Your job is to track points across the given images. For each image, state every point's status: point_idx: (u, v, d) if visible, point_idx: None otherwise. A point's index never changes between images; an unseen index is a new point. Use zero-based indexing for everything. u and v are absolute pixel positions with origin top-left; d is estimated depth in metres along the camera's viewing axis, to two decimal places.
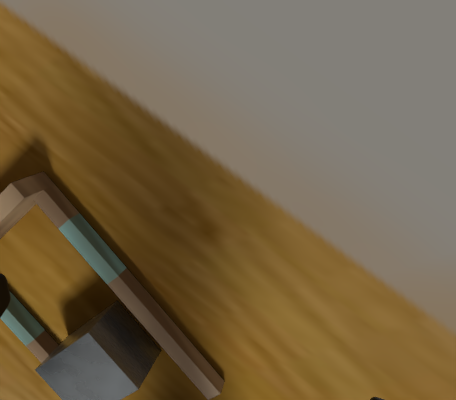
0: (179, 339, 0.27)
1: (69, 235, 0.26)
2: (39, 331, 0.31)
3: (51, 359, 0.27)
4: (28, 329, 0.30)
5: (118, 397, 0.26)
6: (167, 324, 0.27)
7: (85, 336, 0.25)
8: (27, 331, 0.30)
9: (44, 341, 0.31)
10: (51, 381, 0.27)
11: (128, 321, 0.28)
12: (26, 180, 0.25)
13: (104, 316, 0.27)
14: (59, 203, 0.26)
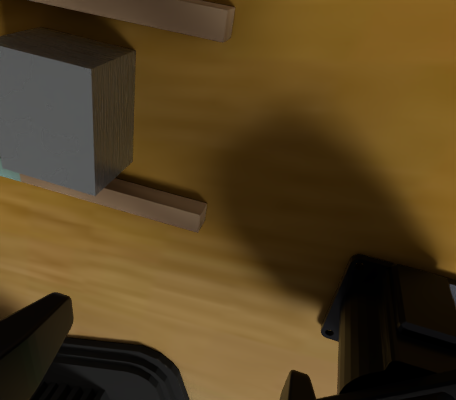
0: None
1: None
2: None
3: None
4: None
5: (88, 113, 0.16)
6: None
7: None
8: None
9: None
10: (25, 167, 0.19)
11: (65, 36, 0.18)
12: None
13: (14, 33, 0.17)
14: None
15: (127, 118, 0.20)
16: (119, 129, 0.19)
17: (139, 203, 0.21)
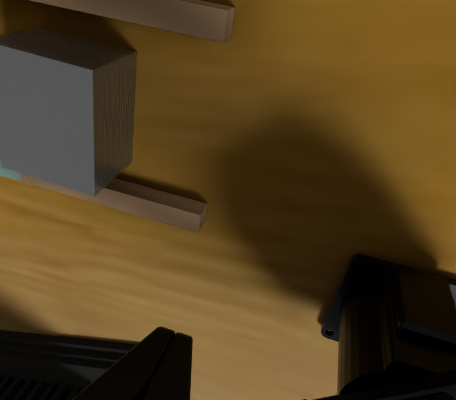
0: None
1: None
2: None
3: None
4: None
5: (89, 114, 0.16)
6: None
7: None
8: None
9: None
10: (25, 166, 0.19)
11: (66, 36, 0.18)
12: None
13: (15, 33, 0.17)
14: None
15: (127, 118, 0.20)
16: (119, 130, 0.19)
17: (139, 203, 0.21)
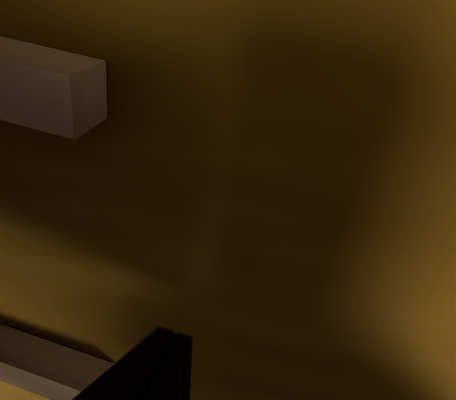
0: None
1: None
2: None
3: None
4: None
5: None
6: None
7: None
8: None
9: None
10: None
11: None
12: None
13: None
14: None
15: None
16: None
17: None
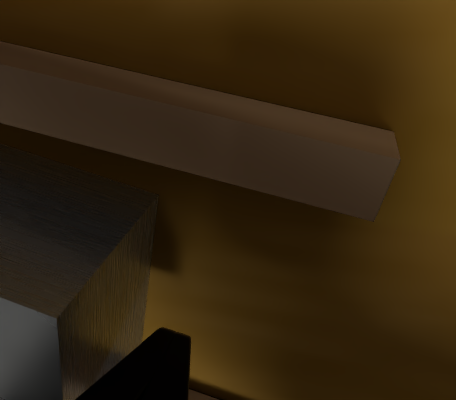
0: (129, 84, 0.07)
1: None
2: None
3: None
4: None
5: (52, 381, 0.07)
6: (65, 68, 0.07)
7: None
8: None
9: None
10: None
11: (15, 163, 0.09)
12: None
13: None
14: None
15: (136, 306, 0.10)
16: (120, 338, 0.10)
17: None
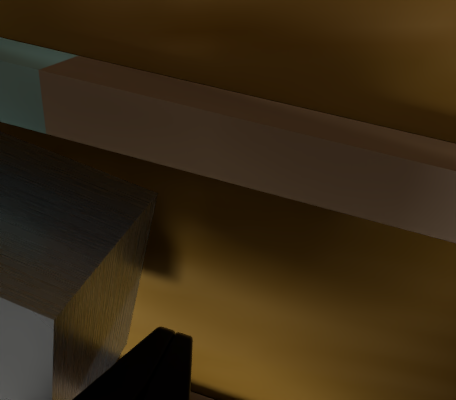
0: (404, 147, 0.06)
1: None
2: None
3: None
4: None
5: (42, 380, 0.07)
6: (320, 125, 0.07)
7: None
8: None
9: None
10: None
11: (12, 151, 0.09)
12: None
13: None
14: None
15: (126, 302, 0.10)
16: (109, 334, 0.10)
17: None
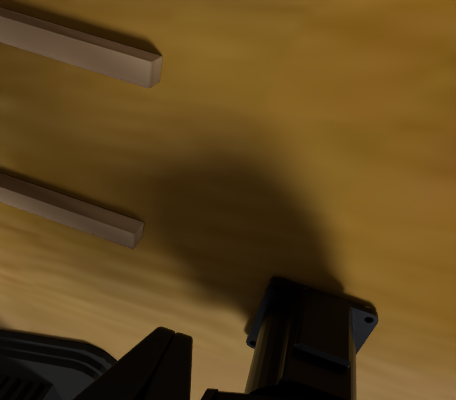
0: (59, 30, 0.18)
1: None
2: None
3: None
4: None
5: None
6: (33, 22, 0.18)
7: None
8: None
9: None
10: None
11: None
12: None
13: None
14: None
15: None
16: None
17: (80, 219, 0.23)
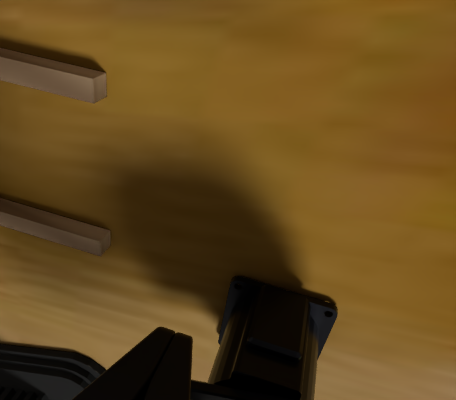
0: (10, 55, 0.19)
1: None
2: None
3: None
4: None
5: None
6: None
7: None
8: None
9: None
10: None
11: None
12: None
13: None
14: None
15: None
16: None
17: (49, 230, 0.24)
